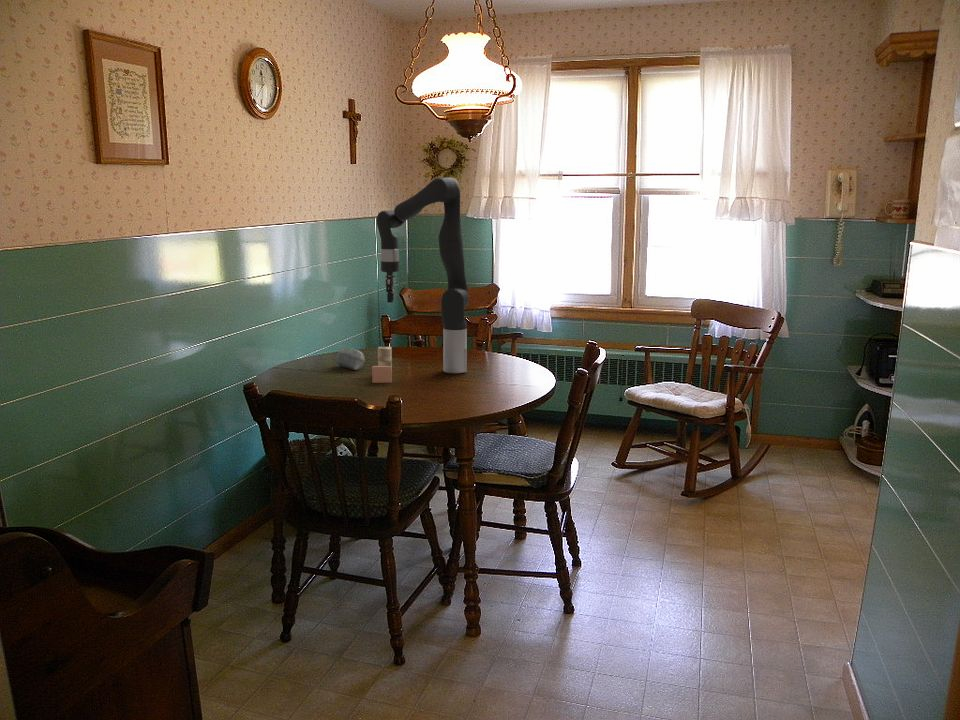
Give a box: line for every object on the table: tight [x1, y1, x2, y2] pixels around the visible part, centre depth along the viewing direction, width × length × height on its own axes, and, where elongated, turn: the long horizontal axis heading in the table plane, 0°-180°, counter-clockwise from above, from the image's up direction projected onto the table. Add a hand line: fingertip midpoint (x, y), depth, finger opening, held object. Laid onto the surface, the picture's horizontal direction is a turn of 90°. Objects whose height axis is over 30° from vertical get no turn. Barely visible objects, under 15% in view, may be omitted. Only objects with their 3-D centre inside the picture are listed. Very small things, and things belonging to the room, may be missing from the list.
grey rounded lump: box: [335, 347, 365, 371], centre depth 309 cm, size 14×10×10 cm
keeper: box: [377, 346, 393, 367], centre depth 297 cm, size 5×4×10 cm
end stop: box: [371, 365, 393, 384], centre depth 286 cm, size 7×2×6 cm, turn 91°
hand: (390, 301), depth 320 cm, fingers open, 3 cm apart
